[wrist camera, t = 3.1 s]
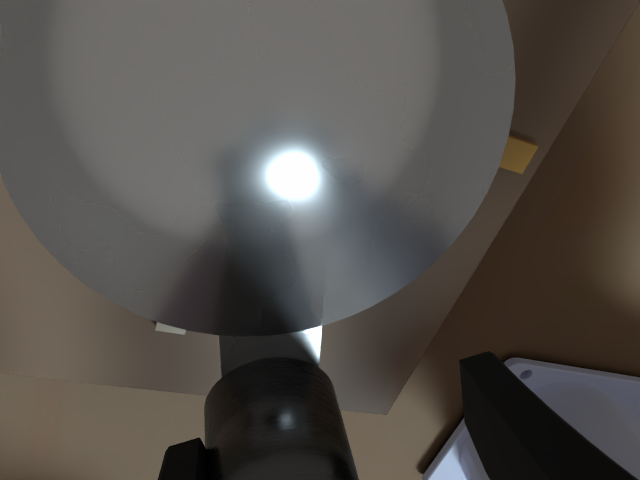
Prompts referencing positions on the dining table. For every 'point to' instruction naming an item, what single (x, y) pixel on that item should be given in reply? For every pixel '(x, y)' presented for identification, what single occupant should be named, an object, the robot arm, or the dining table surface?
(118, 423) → the dining table surface
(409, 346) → the lock base
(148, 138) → the grey disc with handle
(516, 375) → the robot arm
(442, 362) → the dining table surface
